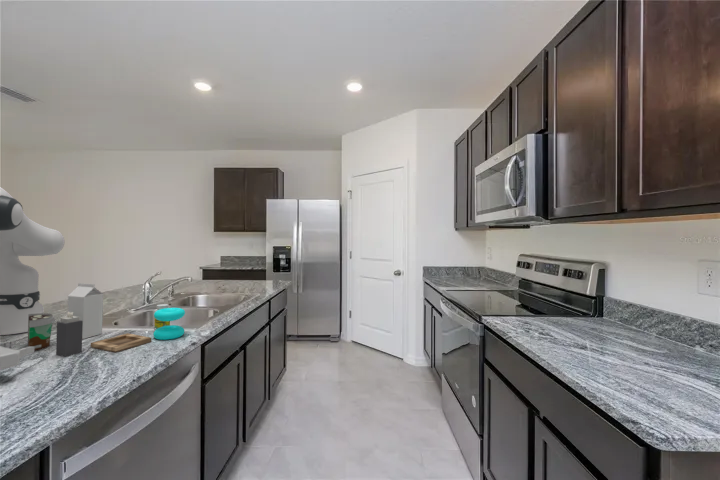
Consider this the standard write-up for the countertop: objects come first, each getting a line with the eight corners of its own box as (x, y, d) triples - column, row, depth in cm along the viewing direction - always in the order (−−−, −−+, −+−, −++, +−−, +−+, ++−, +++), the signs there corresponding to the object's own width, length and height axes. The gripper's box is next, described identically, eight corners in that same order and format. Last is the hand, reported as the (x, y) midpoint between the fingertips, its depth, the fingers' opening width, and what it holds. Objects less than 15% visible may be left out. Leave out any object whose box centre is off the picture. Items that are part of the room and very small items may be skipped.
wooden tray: (90, 347, 107) (90, 342, 107) (127, 337, 118) (127, 332, 118) (115, 352, 103) (115, 347, 103) (151, 341, 114) (151, 337, 114)
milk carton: (82, 339, 114) (84, 285, 114) (66, 337, 116) (68, 284, 116) (102, 333, 121) (103, 283, 121) (86, 332, 123) (88, 282, 123)
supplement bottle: (171, 326, 133) (172, 303, 133) (167, 330, 128) (167, 306, 128) (157, 327, 132) (157, 303, 132) (151, 331, 127) (152, 306, 127)
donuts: (174, 313, 115) (147, 312, 116) (174, 341, 116) (146, 340, 116) (190, 307, 125) (165, 306, 126) (189, 333, 125) (164, 332, 126)
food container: (56, 348, 105) (56, 317, 105) (28, 353, 100) (29, 321, 100) (52, 339, 113) (53, 311, 113) (27, 343, 109) (28, 313, 109)
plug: (56, 354, 100) (57, 313, 100) (72, 350, 104) (73, 310, 104) (65, 356, 98) (66, 314, 98) (81, 352, 103) (82, 311, 102)
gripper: (-30, 357, 74) (45, 340, 87) (-74, 345, 81) (2, 330, 94) (-31, 385, 74) (45, 363, 87) (-75, 370, 81) (2, 352, 94)
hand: (22, 346), depth 91 cm, fingers open, 8 cm apart
